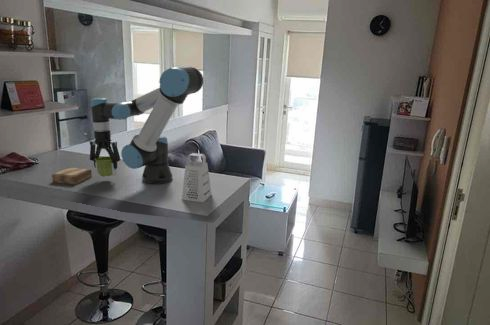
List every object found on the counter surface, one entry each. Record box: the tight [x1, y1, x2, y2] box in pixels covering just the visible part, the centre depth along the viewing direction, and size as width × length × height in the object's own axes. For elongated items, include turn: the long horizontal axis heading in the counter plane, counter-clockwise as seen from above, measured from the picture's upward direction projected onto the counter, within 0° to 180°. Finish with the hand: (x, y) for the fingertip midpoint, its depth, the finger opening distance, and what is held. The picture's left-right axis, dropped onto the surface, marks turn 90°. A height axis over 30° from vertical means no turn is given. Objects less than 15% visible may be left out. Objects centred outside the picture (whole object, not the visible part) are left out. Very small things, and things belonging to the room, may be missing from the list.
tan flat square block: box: [51, 166, 93, 185], centre depth 190 cm, size 13×13×4 cm
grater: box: [181, 152, 213, 203], centre depth 168 cm, size 10×10×20 cm
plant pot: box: [95, 155, 113, 177], centre depth 187 cm, size 9×9×9 cm
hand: (106, 174), depth 188 cm, fingers closed on plant pot, 8 cm apart
